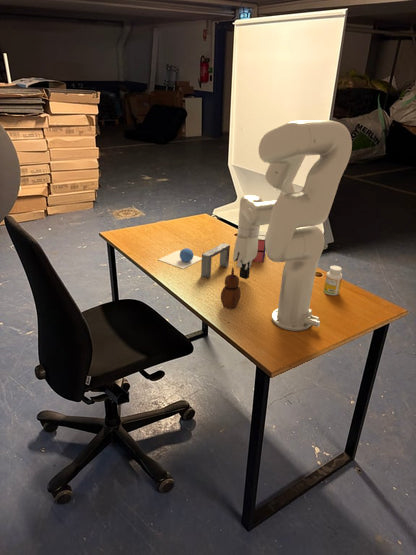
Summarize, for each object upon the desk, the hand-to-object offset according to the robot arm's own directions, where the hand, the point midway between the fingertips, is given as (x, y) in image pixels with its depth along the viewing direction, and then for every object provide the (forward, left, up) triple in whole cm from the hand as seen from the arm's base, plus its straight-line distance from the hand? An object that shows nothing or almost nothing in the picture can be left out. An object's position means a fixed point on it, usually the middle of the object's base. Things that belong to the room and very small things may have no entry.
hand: (244, 277), depth 158 cm
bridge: (+13, 0, -2) cm, 13 cm away
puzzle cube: (+9, -22, -2) cm, 24 cm away
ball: (+27, 0, +1) cm, 27 cm away
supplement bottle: (-29, -13, -2) cm, 32 cm away
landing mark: (+30, 0, -2) cm, 30 cm away
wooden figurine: (-6, +19, -2) cm, 20 cm away
